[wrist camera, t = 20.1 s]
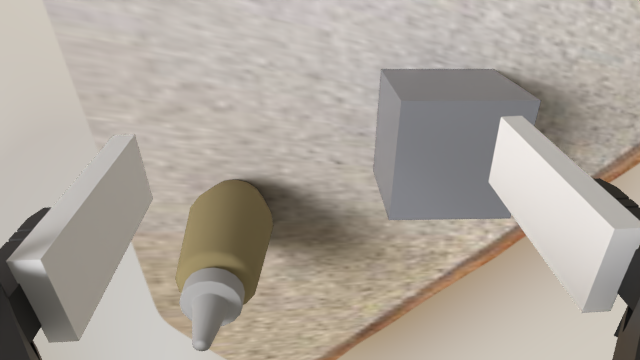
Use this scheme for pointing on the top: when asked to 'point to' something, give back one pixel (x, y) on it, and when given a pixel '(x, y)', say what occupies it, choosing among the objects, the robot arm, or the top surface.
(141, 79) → the top surface
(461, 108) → the grey cubic block
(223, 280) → the squeeze bottle
